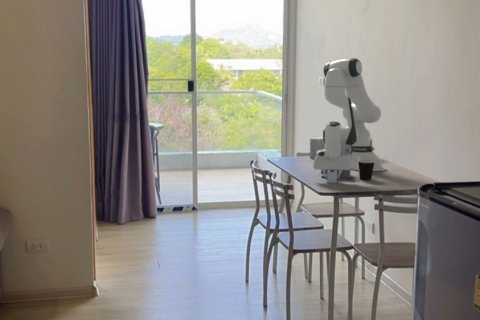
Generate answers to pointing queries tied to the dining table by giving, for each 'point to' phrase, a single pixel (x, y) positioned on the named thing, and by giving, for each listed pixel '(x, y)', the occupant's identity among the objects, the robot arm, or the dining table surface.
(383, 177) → the dining table surface
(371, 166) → the coffee mug
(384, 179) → the dining table surface
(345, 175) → the dark grey toaster
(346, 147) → the soda pack
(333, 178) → the light blue block
